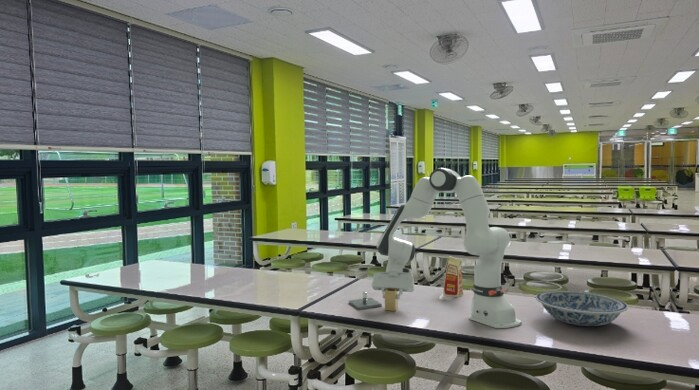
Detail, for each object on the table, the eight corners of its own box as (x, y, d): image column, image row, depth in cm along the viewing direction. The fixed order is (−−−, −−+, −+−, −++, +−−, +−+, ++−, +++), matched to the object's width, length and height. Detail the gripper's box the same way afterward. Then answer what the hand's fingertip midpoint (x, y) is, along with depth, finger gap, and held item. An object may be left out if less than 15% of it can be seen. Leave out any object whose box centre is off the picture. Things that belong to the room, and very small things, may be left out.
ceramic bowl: (638, 321, 192) (638, 298, 192) (612, 345, 168) (612, 318, 168) (554, 305, 217) (554, 284, 216) (521, 323, 193) (521, 300, 192)
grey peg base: (381, 306, 221) (381, 293, 220) (358, 309, 216) (358, 296, 216) (371, 299, 232) (370, 287, 231) (348, 303, 227) (348, 290, 227)
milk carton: (443, 295, 237) (442, 257, 236) (448, 291, 245) (447, 253, 244) (460, 297, 233) (460, 258, 232) (465, 293, 241) (465, 255, 240)
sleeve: (397, 307, 218) (397, 288, 217) (395, 310, 213) (395, 291, 212) (387, 306, 219) (387, 288, 219) (385, 310, 214) (384, 290, 214)
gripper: (372, 268, 225) (368, 293, 216) (414, 270, 218) (411, 296, 210) (375, 275, 229) (370, 300, 220) (416, 277, 223) (413, 302, 214)
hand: (390, 298), depth 215 cm, fingers closed on sleeve, 5 cm apart
